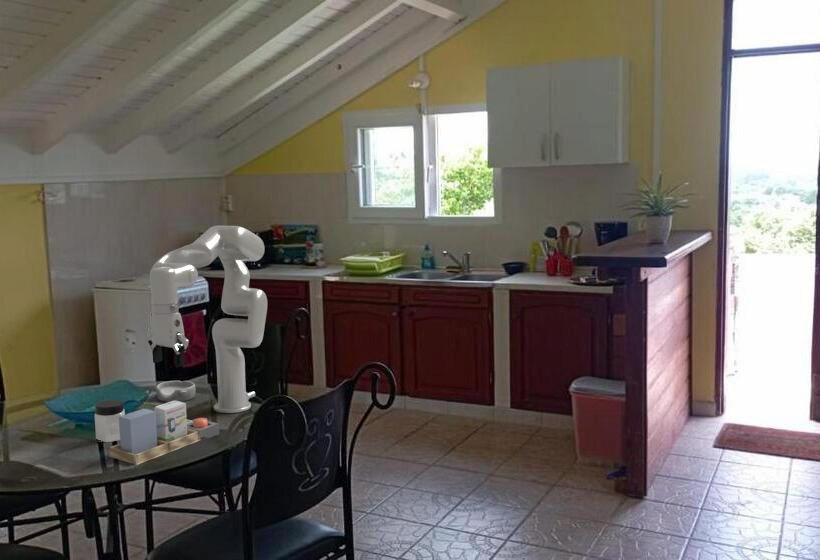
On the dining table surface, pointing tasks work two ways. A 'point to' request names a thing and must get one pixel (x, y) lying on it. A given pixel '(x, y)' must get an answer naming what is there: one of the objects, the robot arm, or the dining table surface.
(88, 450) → the dining table surface
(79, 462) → the dining table surface
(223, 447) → the dining table surface
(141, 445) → the seated billet
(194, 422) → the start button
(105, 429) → the jar
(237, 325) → the robot arm
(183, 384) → the dish
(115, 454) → the wooden compartment tray
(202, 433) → the grey square frame
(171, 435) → the ink box
